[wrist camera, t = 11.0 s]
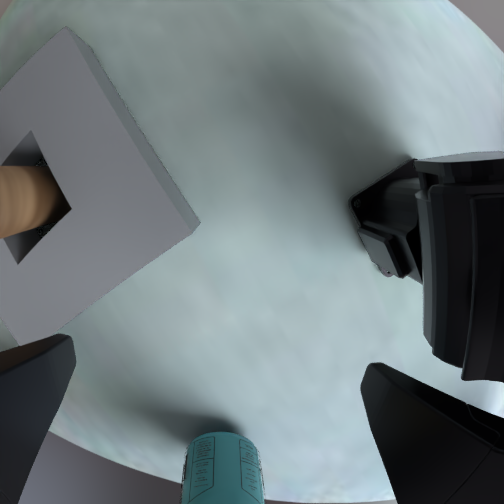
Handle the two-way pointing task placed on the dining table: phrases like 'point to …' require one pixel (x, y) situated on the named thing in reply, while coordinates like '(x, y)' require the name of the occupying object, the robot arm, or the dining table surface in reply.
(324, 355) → the dining table surface
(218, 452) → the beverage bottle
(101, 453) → the dining table surface
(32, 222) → the peg
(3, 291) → the socket
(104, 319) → the dining table surface
